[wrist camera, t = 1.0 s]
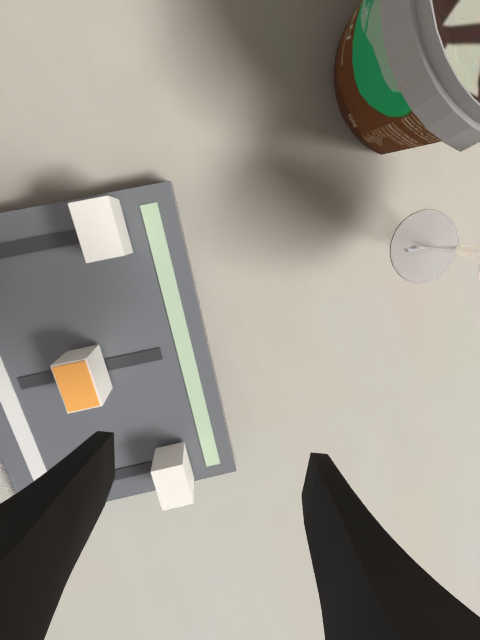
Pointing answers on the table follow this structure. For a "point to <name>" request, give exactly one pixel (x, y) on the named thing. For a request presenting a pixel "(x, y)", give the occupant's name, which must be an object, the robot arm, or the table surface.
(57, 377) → the block
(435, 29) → the food container
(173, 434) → the panel
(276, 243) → the table surface
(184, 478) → the block
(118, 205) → the block
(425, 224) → the wineglass
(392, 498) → the table surface
